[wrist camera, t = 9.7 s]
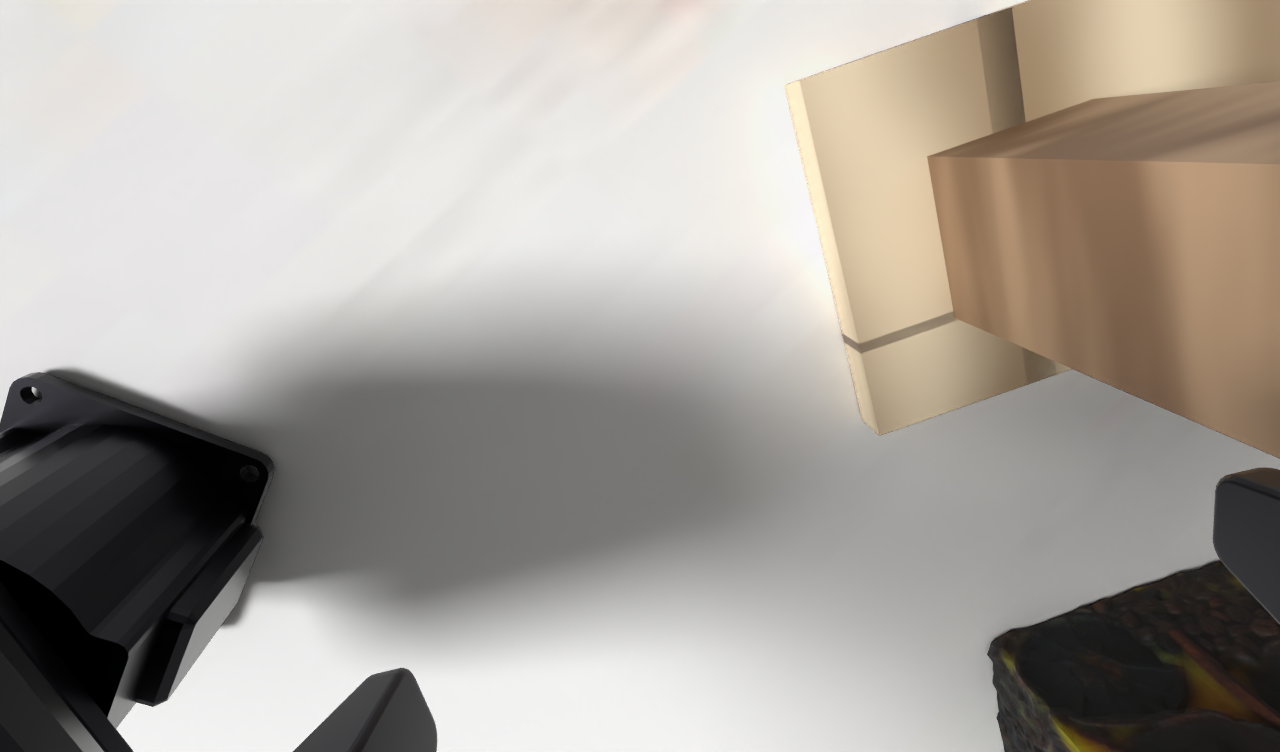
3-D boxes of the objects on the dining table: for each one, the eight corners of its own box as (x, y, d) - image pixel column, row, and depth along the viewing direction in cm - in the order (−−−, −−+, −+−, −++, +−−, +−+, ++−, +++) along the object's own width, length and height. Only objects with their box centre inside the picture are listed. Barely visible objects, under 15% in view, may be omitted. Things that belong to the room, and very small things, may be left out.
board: (862, 420, 21) (879, 436, 20) (784, 85, 18) (799, 80, 17) (1539, 185, 21) (1594, 187, 20) (1587, -195, 18) (1657, -218, 17)
